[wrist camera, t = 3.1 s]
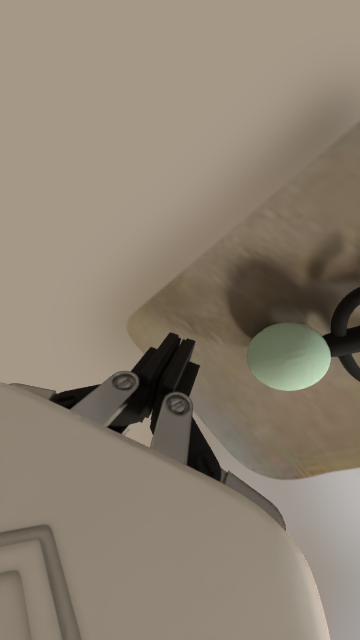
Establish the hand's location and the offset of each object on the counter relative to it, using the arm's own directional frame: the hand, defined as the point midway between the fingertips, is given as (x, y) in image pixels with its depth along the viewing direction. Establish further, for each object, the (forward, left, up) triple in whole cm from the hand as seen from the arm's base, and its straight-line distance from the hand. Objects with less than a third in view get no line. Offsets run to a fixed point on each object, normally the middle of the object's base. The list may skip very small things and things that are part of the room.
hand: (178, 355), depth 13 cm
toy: (-1, +12, -11) cm, 16 cm away
